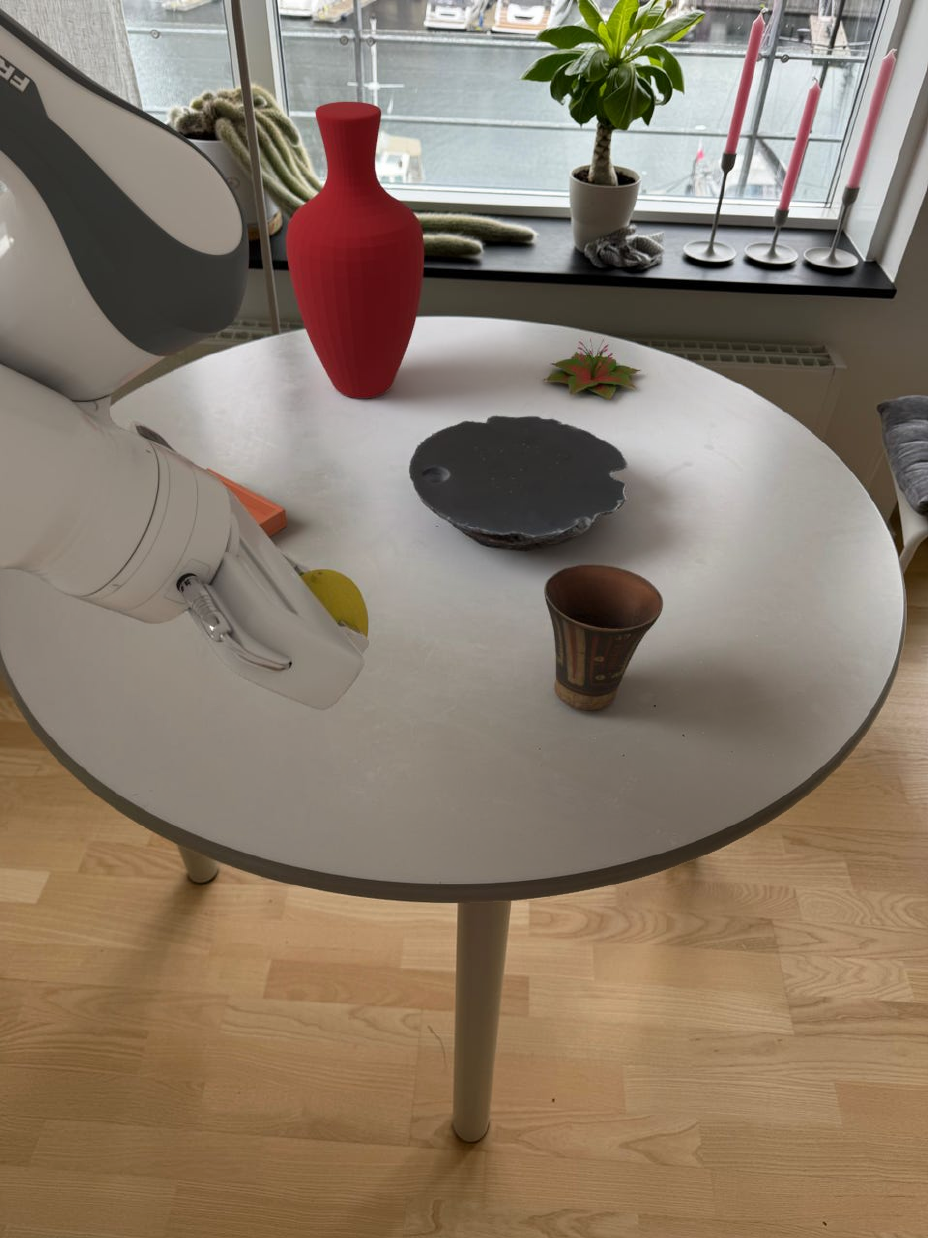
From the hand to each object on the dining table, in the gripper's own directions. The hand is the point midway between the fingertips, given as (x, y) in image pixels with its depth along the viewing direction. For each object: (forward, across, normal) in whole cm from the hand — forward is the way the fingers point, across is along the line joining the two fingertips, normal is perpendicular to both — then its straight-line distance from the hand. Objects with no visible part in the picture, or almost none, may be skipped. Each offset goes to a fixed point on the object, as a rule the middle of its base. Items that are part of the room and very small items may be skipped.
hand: (332, 614), depth 61 cm
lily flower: (+48, +39, -27) cm, 67 cm away
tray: (+12, +33, +9) cm, 36 cm away
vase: (+30, +51, -10) cm, 60 cm away
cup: (+25, -2, -4) cm, 26 cm away
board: (+31, +21, -10) cm, 39 cm away
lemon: (+3, 0, +4) cm, 5 cm away
